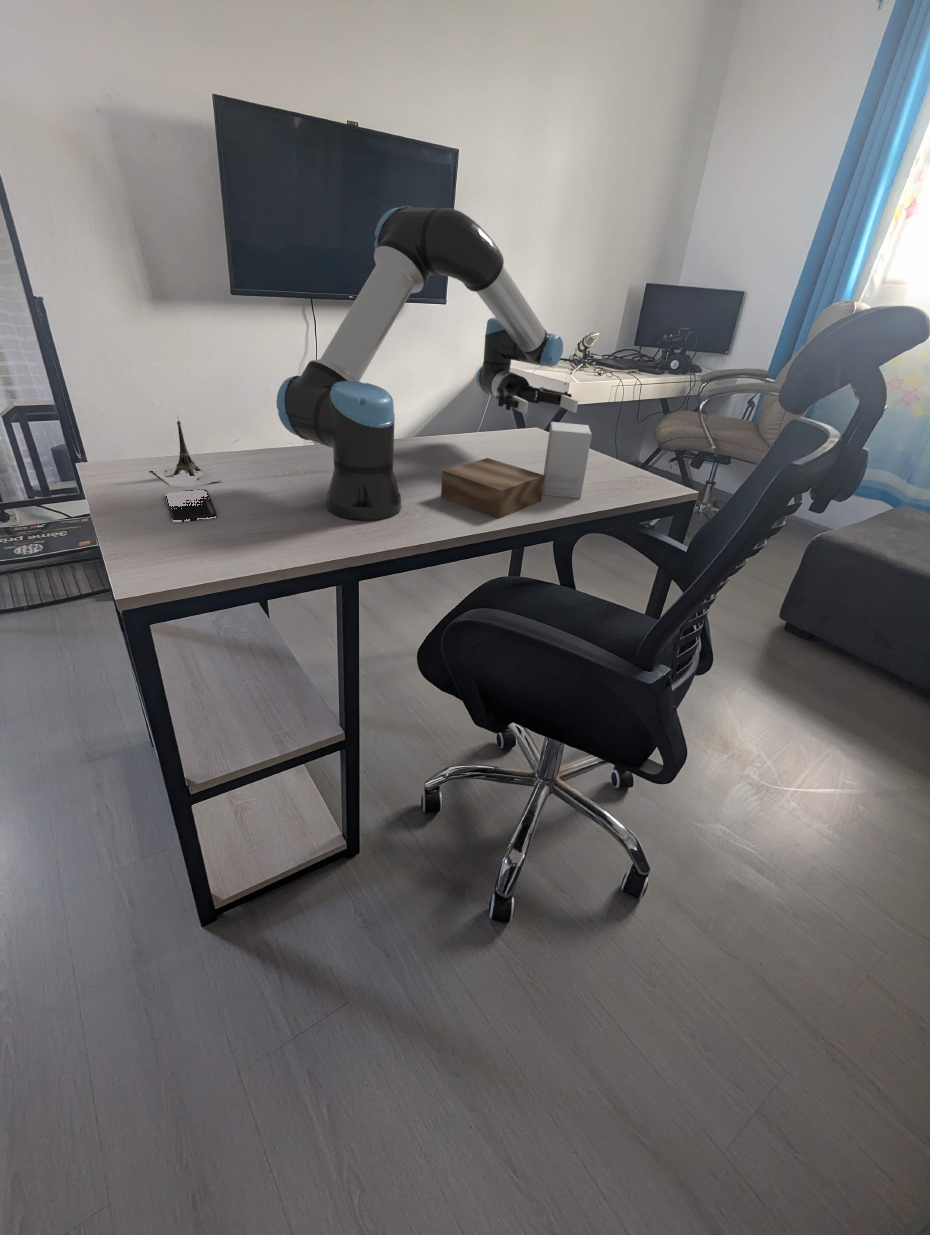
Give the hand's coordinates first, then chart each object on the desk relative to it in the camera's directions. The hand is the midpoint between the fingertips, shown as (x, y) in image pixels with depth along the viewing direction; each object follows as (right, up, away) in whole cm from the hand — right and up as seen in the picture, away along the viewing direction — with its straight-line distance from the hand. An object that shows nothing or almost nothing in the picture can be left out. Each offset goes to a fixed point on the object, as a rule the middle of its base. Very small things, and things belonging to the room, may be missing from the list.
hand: (551, 407), depth 138 cm
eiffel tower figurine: (-82, -19, -10) cm, 85 cm away
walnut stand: (-15, -23, -8) cm, 29 cm away
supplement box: (+2, -20, +1) cm, 20 cm away
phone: (-74, -29, -24) cm, 83 cm away
